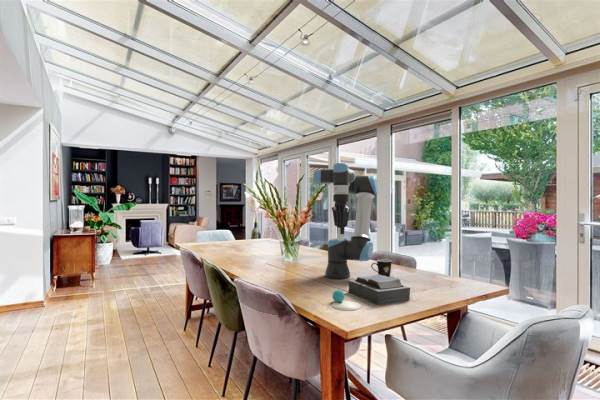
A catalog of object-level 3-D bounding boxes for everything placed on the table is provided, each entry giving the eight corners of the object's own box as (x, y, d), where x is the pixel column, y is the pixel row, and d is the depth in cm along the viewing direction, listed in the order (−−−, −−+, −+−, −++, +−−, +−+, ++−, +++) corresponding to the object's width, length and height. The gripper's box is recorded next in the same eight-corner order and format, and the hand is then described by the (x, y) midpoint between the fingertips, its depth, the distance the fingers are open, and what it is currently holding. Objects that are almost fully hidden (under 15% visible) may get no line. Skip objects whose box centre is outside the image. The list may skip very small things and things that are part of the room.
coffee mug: (392, 276, 213) (392, 259, 213) (391, 279, 205) (391, 262, 205) (372, 274, 217) (372, 258, 217) (371, 277, 209) (371, 261, 209)
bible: (368, 306, 155) (368, 284, 155) (345, 291, 181) (345, 272, 181) (414, 302, 161) (414, 281, 161) (386, 288, 187) (386, 269, 187)
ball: (339, 292, 157) (336, 304, 157) (348, 292, 160) (345, 303, 160) (331, 288, 161) (329, 299, 161) (340, 287, 164) (337, 299, 165)
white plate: (326, 304, 157) (326, 303, 157) (349, 300, 164) (349, 299, 164) (343, 312, 146) (343, 312, 146) (367, 307, 152) (367, 307, 152)
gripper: (327, 193, 180) (327, 239, 180) (342, 193, 169) (342, 242, 169) (339, 193, 184) (339, 238, 184) (354, 193, 173) (354, 241, 173)
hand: (340, 240), depth 177 cm, fingers closed
